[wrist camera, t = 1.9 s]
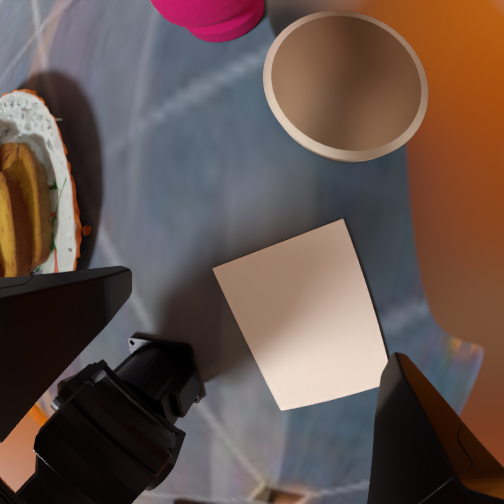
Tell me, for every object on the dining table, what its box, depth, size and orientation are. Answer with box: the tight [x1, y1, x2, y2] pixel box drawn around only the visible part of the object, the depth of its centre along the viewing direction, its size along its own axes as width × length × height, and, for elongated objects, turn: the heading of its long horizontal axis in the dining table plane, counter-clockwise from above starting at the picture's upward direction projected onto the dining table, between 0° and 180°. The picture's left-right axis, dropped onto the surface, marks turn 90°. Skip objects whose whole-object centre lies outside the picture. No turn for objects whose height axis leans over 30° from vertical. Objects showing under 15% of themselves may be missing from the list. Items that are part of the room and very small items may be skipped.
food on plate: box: [0, 89, 92, 278], centre depth 24 cm, size 26×26×7 cm
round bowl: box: [263, 10, 428, 163], centre depth 16 cm, size 10×10×3 cm
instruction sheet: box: [213, 219, 388, 411], centre depth 22 cm, size 10×14×1 cm
